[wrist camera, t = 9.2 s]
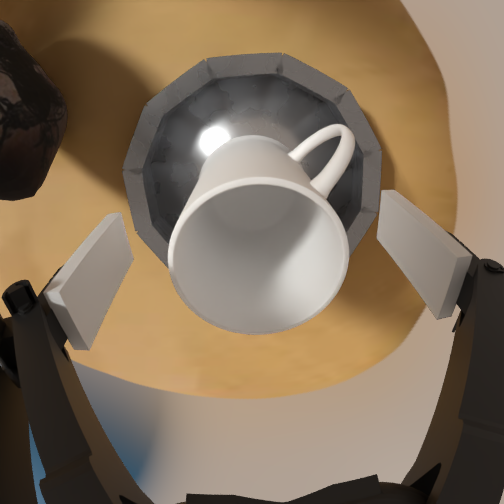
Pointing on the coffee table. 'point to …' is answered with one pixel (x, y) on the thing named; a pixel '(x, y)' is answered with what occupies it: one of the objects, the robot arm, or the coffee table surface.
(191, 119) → the gray metal bowl
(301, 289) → the mug
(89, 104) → the coffee table surface
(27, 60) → the decorative stone
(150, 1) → the coffee table surface
